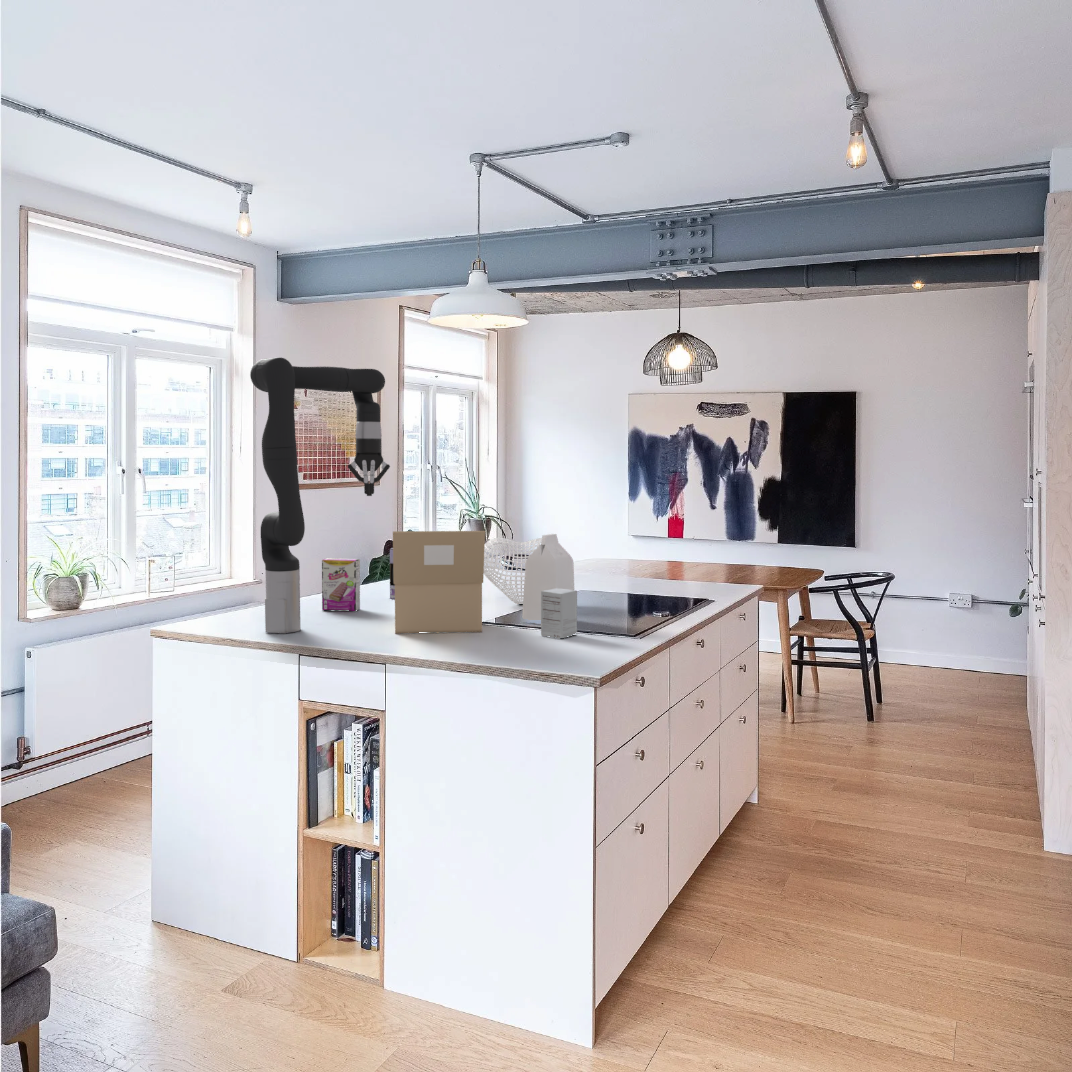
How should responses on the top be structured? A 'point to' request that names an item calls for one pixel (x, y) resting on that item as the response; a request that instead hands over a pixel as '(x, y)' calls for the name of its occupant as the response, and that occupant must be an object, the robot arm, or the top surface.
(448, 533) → the carton lid
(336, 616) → the top surface
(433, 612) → the carton
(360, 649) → the top surface
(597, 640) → the top surface
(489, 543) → the white mesh basket
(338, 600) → the candy bar box
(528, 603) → the milk
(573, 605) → the supplement box
